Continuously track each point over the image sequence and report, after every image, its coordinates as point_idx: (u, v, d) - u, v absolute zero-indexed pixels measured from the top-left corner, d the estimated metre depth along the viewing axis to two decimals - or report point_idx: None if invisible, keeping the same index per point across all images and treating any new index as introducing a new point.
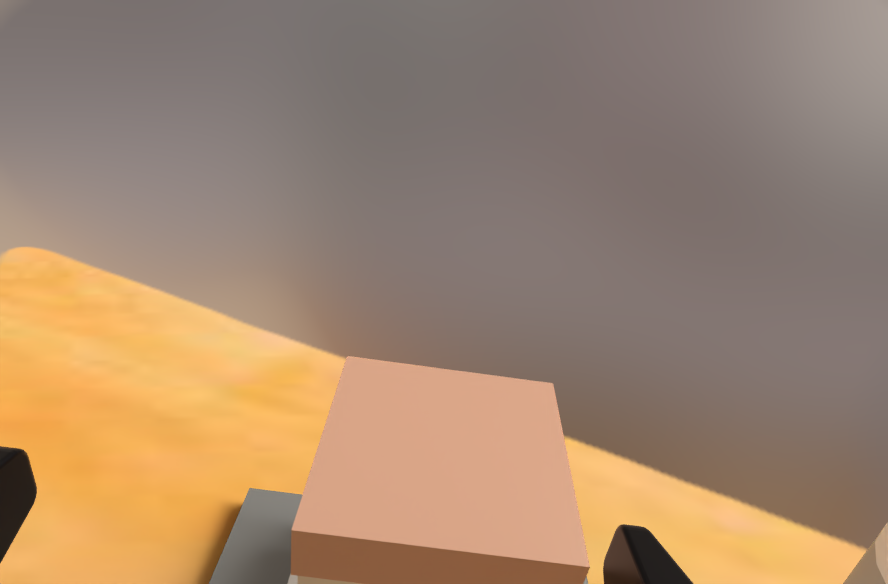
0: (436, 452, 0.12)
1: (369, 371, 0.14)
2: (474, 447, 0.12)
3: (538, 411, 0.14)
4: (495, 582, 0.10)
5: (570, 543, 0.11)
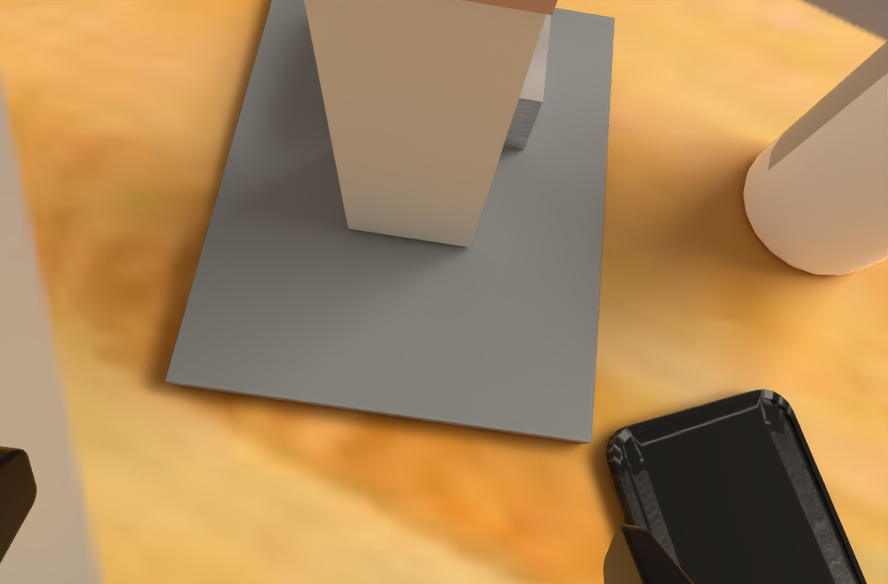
0: None
1: None
2: None
3: None
4: None
5: None
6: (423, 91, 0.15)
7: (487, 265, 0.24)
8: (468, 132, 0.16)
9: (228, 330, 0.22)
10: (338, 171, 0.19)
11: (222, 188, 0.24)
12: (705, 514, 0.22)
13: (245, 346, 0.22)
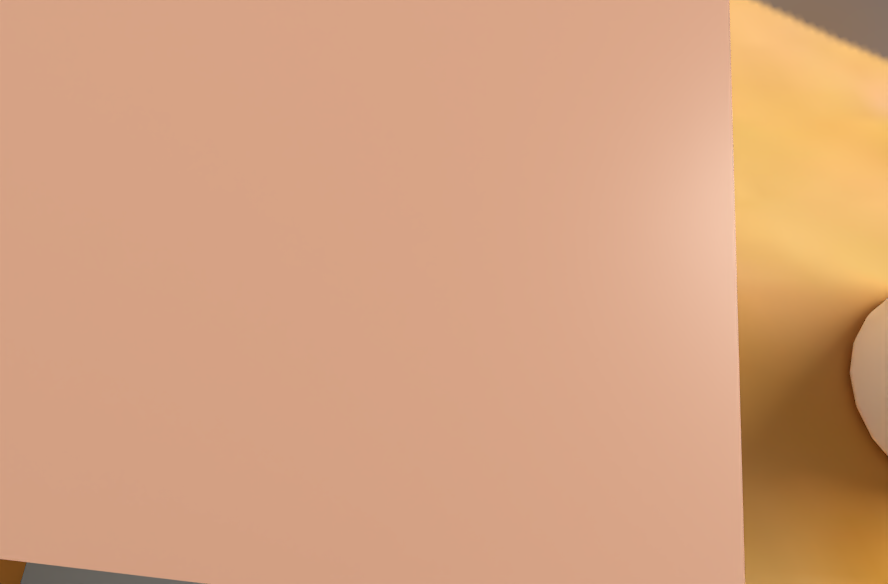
0: (189, 74, 0.03)
1: None
2: (355, 49, 0.03)
3: None
4: None
5: (681, 523, 0.02)
6: None
7: None
8: None
9: None
10: None
11: None
12: None
13: None
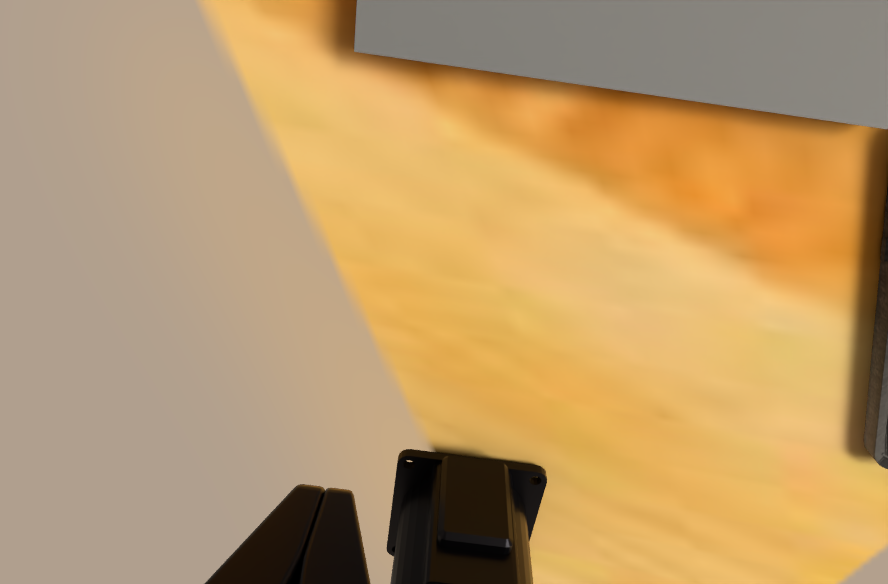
0: None
1: None
2: None
3: None
4: None
5: None
6: None
7: None
8: None
9: None
10: None
11: None
12: None
13: None
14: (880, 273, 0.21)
